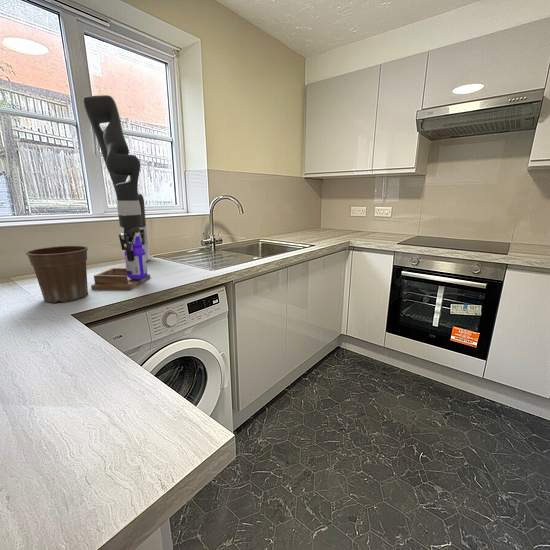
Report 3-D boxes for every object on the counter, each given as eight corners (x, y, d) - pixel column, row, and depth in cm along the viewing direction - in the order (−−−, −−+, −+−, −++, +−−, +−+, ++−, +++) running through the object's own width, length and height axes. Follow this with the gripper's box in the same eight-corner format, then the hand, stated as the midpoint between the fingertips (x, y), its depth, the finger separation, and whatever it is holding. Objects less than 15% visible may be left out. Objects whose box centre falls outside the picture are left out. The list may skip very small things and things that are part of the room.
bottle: (151, 276, 115) (146, 232, 110) (141, 280, 110) (135, 234, 105) (135, 275, 117) (129, 231, 112) (124, 279, 112) (118, 233, 107)
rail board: (117, 277, 122) (115, 266, 121) (150, 277, 121) (148, 267, 120) (91, 289, 107) (89, 277, 105) (129, 290, 106) (127, 278, 105)
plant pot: (73, 287, 109) (65, 243, 105) (106, 292, 104) (99, 246, 99) (24, 302, 94) (12, 252, 90) (60, 308, 89) (49, 256, 85)
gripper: (129, 211, 114) (135, 254, 118) (107, 214, 100) (115, 263, 105) (149, 212, 113) (153, 255, 118) (129, 215, 100) (135, 263, 104)
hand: (135, 258), depth 111 cm, fingers closed on bottle, 6 cm apart
